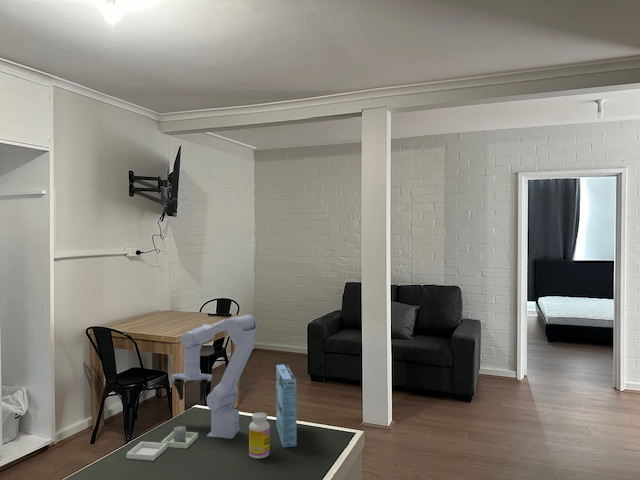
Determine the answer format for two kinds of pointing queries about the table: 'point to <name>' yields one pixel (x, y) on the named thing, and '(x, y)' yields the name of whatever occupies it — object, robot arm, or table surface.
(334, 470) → the table surface
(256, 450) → the supplement bottle
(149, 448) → the grey tray
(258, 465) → the table surface
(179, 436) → the grey cylinder
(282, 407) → the light blue carton
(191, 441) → the sage tray
